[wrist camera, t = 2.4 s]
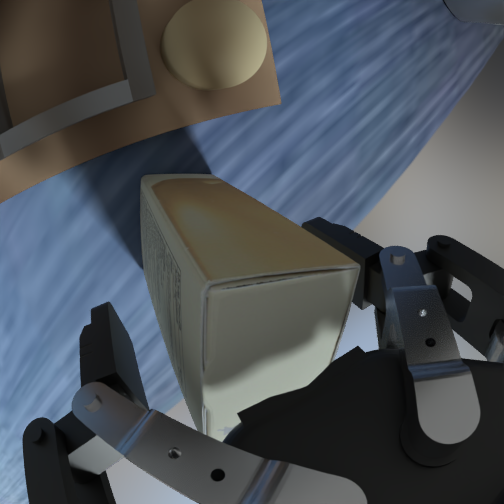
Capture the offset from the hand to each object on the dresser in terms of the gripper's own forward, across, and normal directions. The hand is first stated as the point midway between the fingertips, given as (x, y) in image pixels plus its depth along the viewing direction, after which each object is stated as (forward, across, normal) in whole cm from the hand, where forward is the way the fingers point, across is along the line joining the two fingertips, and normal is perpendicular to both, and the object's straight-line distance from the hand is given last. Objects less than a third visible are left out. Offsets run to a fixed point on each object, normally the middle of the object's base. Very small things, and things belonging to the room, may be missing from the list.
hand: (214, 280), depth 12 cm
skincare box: (+8, 0, 0) cm, 8 cm away
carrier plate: (+7, +2, -11) cm, 13 cm away
